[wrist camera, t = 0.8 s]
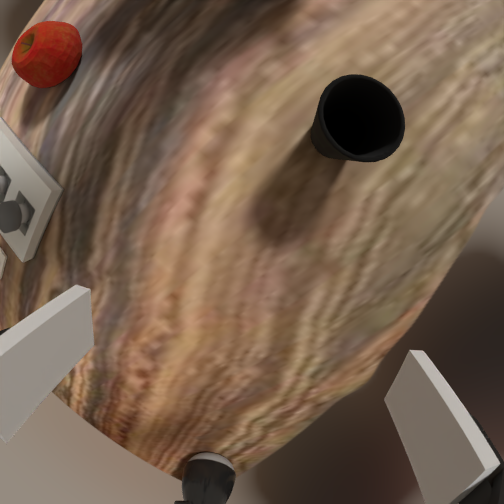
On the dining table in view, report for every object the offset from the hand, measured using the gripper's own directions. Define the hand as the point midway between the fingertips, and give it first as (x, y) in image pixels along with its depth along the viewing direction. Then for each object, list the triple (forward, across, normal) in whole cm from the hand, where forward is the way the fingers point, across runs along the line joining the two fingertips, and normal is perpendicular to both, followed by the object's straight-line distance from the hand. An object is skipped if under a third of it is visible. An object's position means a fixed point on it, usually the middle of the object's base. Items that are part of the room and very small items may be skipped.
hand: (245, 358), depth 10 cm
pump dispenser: (+26, -1, -46) cm, 53 cm away
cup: (+26, +6, +13) cm, 30 cm away
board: (+26, -43, +1) cm, 50 cm away
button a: (+23, -36, -3) cm, 43 cm away
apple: (+26, -36, +22) cm, 49 cm away
